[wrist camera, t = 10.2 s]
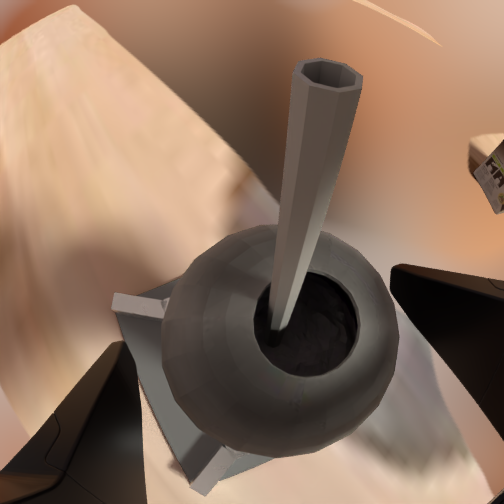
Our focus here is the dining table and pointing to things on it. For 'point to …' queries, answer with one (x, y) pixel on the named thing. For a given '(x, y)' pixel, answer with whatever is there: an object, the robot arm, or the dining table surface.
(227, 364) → the beverage cup
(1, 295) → the dining table surface
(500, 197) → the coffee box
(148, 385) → the gray raised edge tray
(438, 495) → the dining table surface
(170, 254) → the dining table surface
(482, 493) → the dining table surface
